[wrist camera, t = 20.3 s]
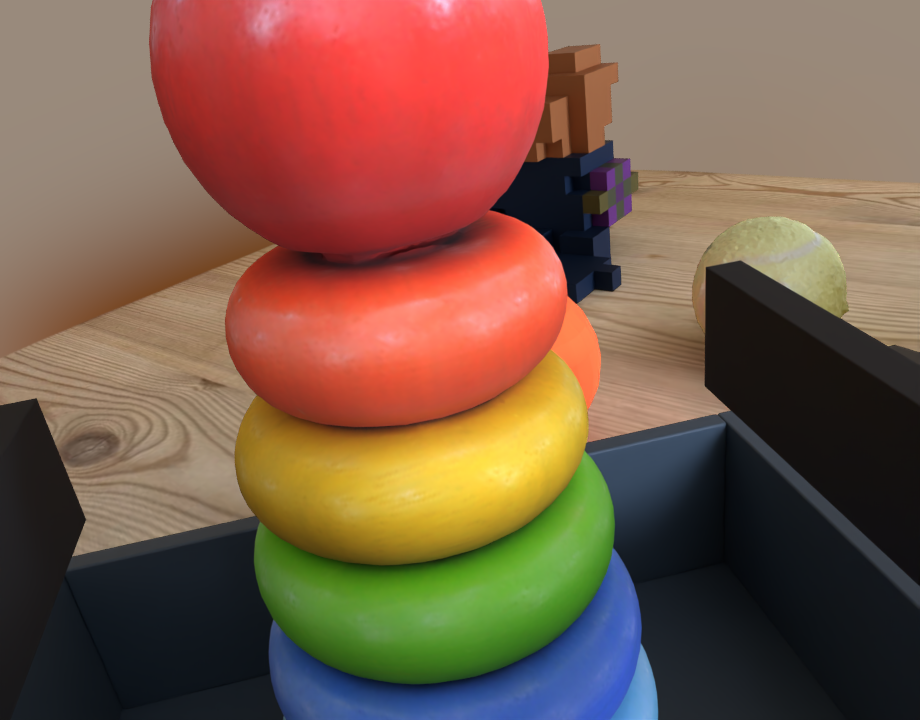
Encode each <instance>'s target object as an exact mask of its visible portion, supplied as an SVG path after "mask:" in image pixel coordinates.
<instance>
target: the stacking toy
mask: <svg viewBox="0 0 920 720" xmlns="http://www.w3.org/2000/svg"><path fill="white" fill-rule="evenodd" d="M149 46H150V59H151V74H152V80H153V84H154V88H155V92H156V96H157V100H158V104H159V106H160V109H161V112H162V116H163V120H164V123H165V125H166V126H167V128H168V130H169V133H170V135H171V138H172V140H173V142H174V144H175V146H176V148H177V149H178V151H179V153H180V155H181V157H182V159H183V161H184V163H185V164H186V165H187V167H188V168H189V169H190V170H191V172H192V173H193V174H194V176H195V177H196V178H197V180H198V181H199V182H200V184H201V185H202V186H203V187H204V189H205V190H206V191H207V192H208V193H209V195H210V196H211V197H212V198H213V199H214V200H215V201H216V202H217V203H218V204H219V205H220V206H221V207H223V209H225V210H226V211H227V212H228V213H229V214H230V215H231V216H233V217H234V218H235V219H237V220H238V221H240V222H241V223H242V224H244V225H245V226H246V227H248V228H249V229H251V230H252V231H254V232H256V233H257V234H259V235H260V236H262V237H263V238H265V239H267V240H269V241H271V242H273V243H274V244H276V245H279V246H277V247H275V248H274V249H272V250H271V251H269V252H267V253H266V254H264V255H263V256H262V257H260V258H259V259H258V260H257V261H256V262H254V263H253V264H252V265H251V266H250V267H249V268H248V269H247V270H246V271H245V273H244V274H243V275H242V276H241V278H240V279H239V280H238V282H237V283H236V285H235V287H234V289H233V292H232V294H231V296H230V298H229V302H228V306H227V310H226V317H225V330H226V340H227V344H228V349H229V353H230V356H231V358H232V360H233V363H234V365H235V367H236V369H237V371H238V372H239V373H240V375H241V376H242V378H243V379H244V381H245V382H246V383H247V385H248V386H249V387H250V388H251V389H252V390H253V391H254V392H255V393H256V394H257V396H256V397H255V399H254V400H253V402H252V403H251V405H250V407H249V408H248V410H247V412H246V414H245V416H244V418H243V420H242V423H241V425H240V429H239V433H238V436H237V440H236V447H235V468H236V475H237V480H238V484H239V487H240V491H241V493H242V495H243V497H244V499H245V501H246V503H247V505H248V507H249V508H250V509H251V511H252V512H253V513H254V514H255V516H256V517H257V518H258V519H259V521H260V523H259V526H258V530H257V534H256V538H255V549H254V566H255V573H256V579H257V583H258V586H259V590H260V593H261V596H262V598H263V600H264V602H265V604H266V606H267V608H268V610H269V612H270V614H271V616H272V618H273V623H272V626H271V632H270V640H269V666H270V675H271V682H272V686H273V689H274V693H275V697H276V699H277V702H278V704H279V707H280V709H281V711H282V713H283V715H284V717H283V720H658V701H657V691H656V685H655V680H654V676H653V673H652V669H651V666H650V663H649V660H648V657H647V655H646V652H645V650H644V648H643V646H642V644H641V630H642V624H641V614H640V608H639V602H638V598H637V594H636V591H635V587H634V584H633V582H632V579H631V577H630V574H629V572H628V570H627V568H626V567H625V565H624V563H623V561H622V560H621V558H620V556H619V555H618V553H617V552H616V551H615V549H614V548H613V544H614V531H615V520H614V508H613V504H612V500H611V496H610V493H609V489H608V486H607V484H606V482H605V480H604V478H603V476H602V474H601V472H600V470H599V469H598V467H597V465H596V464H595V462H594V461H593V460H592V458H591V457H590V456H589V455H588V454H587V453H586V452H585V446H586V442H587V437H588V412H587V405H586V401H585V398H584V394H583V391H582V388H581V386H580V384H579V382H578V380H577V378H576V376H575V375H574V373H573V372H572V370H571V369H570V368H569V366H568V365H567V364H566V362H565V361H564V360H563V359H562V358H560V357H559V356H558V355H557V354H556V353H555V352H554V351H552V350H551V348H552V347H553V345H554V343H555V342H556V340H557V338H558V335H559V333H560V331H561V328H562V325H563V321H564V317H565V313H566V305H567V281H566V277H565V274H564V270H563V267H562V263H561V261H560V259H559V258H558V256H557V254H556V252H555V251H554V249H553V247H552V246H551V244H550V243H549V242H548V241H547V240H546V239H545V238H544V237H543V236H542V235H541V234H540V233H539V232H537V231H536V230H535V229H534V228H532V227H531V226H530V225H528V224H526V223H524V222H522V221H520V220H518V219H516V218H513V217H510V216H507V215H504V214H501V213H498V212H495V211H490V210H489V209H490V208H491V207H492V206H493V205H494V204H495V203H496V201H497V200H498V199H499V198H500V197H501V196H502V195H503V194H504V193H505V192H506V191H507V189H508V188H509V186H510V185H511V183H512V182H513V181H514V179H515V177H516V176H517V174H518V172H519V170H520V169H521V167H522V165H523V163H524V161H525V159H526V156H527V154H528V152H529V150H530V148H531V146H532V144H533V142H534V139H535V136H536V133H537V130H538V126H539V123H540V120H541V116H542V113H543V110H544V103H545V95H546V87H547V78H548V69H549V60H548V36H547V29H546V22H545V16H544V12H543V8H542V4H541V0H153V1H152V5H151V17H150V37H149Z"/></svg>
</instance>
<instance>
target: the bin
mask: <svg viewBox="0 0 920 720" xmlns="http://www.w3.org/2000/svg"><path fill="white" fill-rule="evenodd" d="M585 452H586V453H587V454H588V455H589V456H590V457H591V458H592V460H593V461H594V462H595V464H596V465H597V467H598V469H599V470H600V472H601V474H602V476H603V478H604V480H605V482H606V484H607V486H608V489H609V493H610V496H611V500H612V504H613V508H614V520H615V531H614V544H613V548H614V549H615V551H616V552H617V553H618V555H619V556H620V558H621V560H622V561H623V563H624V565H625V567H626V568H627V570H628V572H629V574H630V577H631V579H632V582H633V584H634V587H635V591H636V594H637V598H638V602H639V608H640V614H641V624H642V630H641V644H642V646H643V648H644V650H645V652H646V655H647V657H648V660H649V663H650V666H651V669H652V673H653V676H654V680H655V685H656V691H657V701H658V720H920V586H919V585H918V584H917V583H915V582H914V581H913V580H912V579H911V578H910V577H909V576H908V575H907V574H906V573H905V572H904V571H903V570H902V569H900V568H899V567H898V566H897V565H896V564H895V563H894V562H893V561H892V560H891V559H890V558H889V557H888V556H887V555H885V554H884V553H883V552H882V551H881V550H880V549H879V548H878V547H877V546H876V545H875V544H874V543H873V542H871V541H870V540H869V539H868V538H867V537H866V536H865V535H864V534H863V533H862V532H861V531H860V530H859V529H858V528H856V527H855V526H854V525H853V524H852V523H851V522H850V521H849V520H848V519H847V518H846V517H845V516H844V515H843V514H841V513H840V512H839V511H838V510H837V509H836V508H835V507H834V506H833V505H832V504H831V503H830V502H829V501H828V500H826V499H825V498H824V497H823V496H822V495H821V494H820V493H819V492H818V491H817V490H816V489H815V488H814V487H812V486H811V485H810V484H809V483H808V482H807V481H806V480H805V479H804V478H803V477H802V476H801V475H800V474H799V473H797V472H796V471H795V470H794V469H793V468H792V467H791V466H790V465H789V464H788V463H787V462H786V461H785V460H784V459H782V458H781V457H780V456H779V455H778V454H777V453H776V452H775V451H774V450H773V449H772V448H771V447H770V446H769V445H767V444H766V443H765V442H764V441H763V440H762V439H761V438H760V437H759V436H758V435H757V434H756V433H755V432H754V431H752V430H751V429H750V428H749V427H748V426H747V425H746V424H745V423H744V422H743V421H742V420H741V419H740V418H738V417H737V416H736V415H735V414H734V413H733V412H732V411H727V412H723V413H719V414H718V415H716V414H714V415H710V416H705V417H701V418H696V419H692V420H687V421H683V422H678V423H674V424H669V425H665V426H660V427H656V428H651V429H647V430H642V431H638V432H633V433H629V434H624V435H620V436H615V437H611V438H606V439H602V440H597V441H593V442H588V443H586V446H585ZM259 523H260V521H259V519H258V518H257V517H256V516H254V517H249V518H245V519H240V520H236V521H231V522H227V523H222V524H218V525H213V526H209V527H204V528H200V529H195V530H191V531H186V532H182V533H177V534H173V535H168V536H164V537H159V538H154V539H150V540H145V541H141V542H136V543H132V544H127V545H123V546H118V547H114V548H109V549H105V550H100V551H96V552H91V553H87V554H82V555H78V556H73V557H72V558H71V561H70V563H69V566H68V569H67V571H66V574H65V576H64V579H63V582H62V584H61V587H60V590H59V592H58V595H57V598H56V600H55V603H54V606H53V608H52V611H51V614H50V616H49V619H48V622H47V624H46V627H45V630H44V632H43V635H42V638H41V640H40V643H39V646H38V648H37V651H36V654H35V656H34V659H33V661H32V664H31V667H30V669H29V672H28V675H27V677H26V680H25V683H24V685H23V688H22V691H21V693H20V696H19V699H18V701H17V704H16V707H15V709H14V712H13V715H12V717H11V720H283V717H284V715H283V713H282V711H281V709H280V707H279V704H278V702H277V699H276V697H275V693H274V689H273V686H272V682H271V675H270V666H269V640H270V632H271V626H272V623H273V618H272V616H271V614H270V612H269V610H268V608H267V606H266V604H265V602H264V600H263V598H262V596H261V593H260V590H259V586H258V583H257V579H256V573H255V566H254V549H255V538H256V534H257V530H258V526H259Z"/></svg>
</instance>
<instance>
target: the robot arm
mask: <svg viewBox="0 0 920 720" xmlns="http://www.w3.org/2000/svg"><path fill="white" fill-rule="evenodd" d="M705 387H706V388H707V389H708V390H710V391H711V392H712V393H713V394H714V395H715V396H716V397H717V398H718V399H719V400H720V401H721V402H722V403H723V404H725V405H726V406H727V407H728V408H729V409H730V410H731V411H732V412H733V413H734V414H735V415H736V416H737V417H738V418H740V419H741V420H742V421H743V422H744V423H745V424H746V425H747V426H748V427H749V428H750V429H751V430H752V431H754V432H755V433H756V434H757V435H758V436H759V437H760V438H761V439H762V440H763V441H764V442H765V443H766V444H767V445H769V446H770V447H771V448H772V449H773V450H774V451H775V452H776V453H777V454H778V455H779V456H780V457H781V458H782V459H784V460H785V461H786V462H787V463H788V464H789V465H790V466H791V467H792V468H793V469H794V470H795V471H796V472H797V473H799V474H800V475H801V476H802V477H803V478H804V479H805V480H806V481H807V482H808V483H809V484H810V485H811V486H812V487H814V488H815V489H816V490H817V491H818V492H819V493H820V494H821V495H822V496H823V497H824V498H825V499H826V500H828V501H829V502H830V503H831V504H832V505H833V506H834V507H835V508H836V509H837V510H838V511H839V512H840V513H841V514H843V515H844V516H845V517H846V518H847V519H848V520H849V521H850V522H851V523H852V524H853V525H854V526H855V527H856V528H858V529H859V530H860V531H861V532H862V533H863V534H864V535H865V536H866V537H867V538H868V539H869V540H870V541H871V542H873V543H874V544H875V545H876V546H877V547H878V548H879V549H880V550H881V551H882V552H883V553H884V554H885V555H887V556H888V557H889V558H890V559H891V560H892V561H893V562H894V563H895V564H896V565H897V566H898V567H899V568H900V569H902V570H903V571H904V572H905V573H906V574H907V575H908V576H909V577H910V578H911V579H912V580H913V581H914V582H915V583H917V584H918V585H919V586H920V352H916V351H913V350H910V349H906V348H903V347H900V346H896V345H892V346H887V345H885V344H883V343H881V342H880V341H878V340H876V339H875V338H873V337H871V336H869V335H868V334H866V333H864V332H863V331H861V330H859V329H857V328H856V327H854V326H852V325H851V324H849V323H847V322H845V321H844V320H842V319H840V318H839V317H837V316H835V315H833V314H832V313H830V312H828V311H827V310H825V309H823V308H821V307H820V306H818V305H816V304H815V303H813V302H811V301H809V300H808V299H806V298H804V297H803V296H801V295H799V294H797V293H796V292H794V291H792V290H791V289H789V288H787V287H785V286H784V285H782V284H780V283H779V282H777V281H775V280H774V279H772V278H770V277H768V276H767V275H765V274H763V273H762V272H760V271H758V270H756V269H755V268H753V267H751V266H750V265H748V264H746V263H744V262H743V261H741V260H739V261H734V262H729V263H724V264H719V265H714V266H709V267H706V278H705ZM85 521H86V518H85V516H84V513H83V511H82V508H81V506H80V504H79V501H78V499H77V496H76V494H75V491H74V489H73V486H72V484H71V482H70V479H69V477H68V474H67V472H66V469H65V467H64V464H63V462H62V460H61V457H60V455H59V452H58V450H57V447H56V445H55V442H54V440H53V437H52V435H51V433H50V430H49V428H48V425H47V423H46V420H45V418H44V415H43V413H42V411H41V408H40V406H39V403H38V401H37V398H36V399H31V400H26V401H21V402H16V403H10V404H5V405H0V720H11V717H12V715H13V712H14V709H15V707H16V704H17V701H18V699H19V696H20V693H21V691H22V688H23V685H24V683H25V680H26V677H27V675H28V672H29V669H30V667H31V664H32V661H33V659H34V656H35V654H36V651H37V648H38V646H39V643H40V640H41V638H42V635H43V632H44V630H45V627H46V624H47V622H48V619H49V616H50V614H51V611H52V608H53V606H54V603H55V600H56V598H57V595H58V592H59V590H60V587H61V584H62V582H63V579H64V576H65V574H66V571H67V569H68V566H69V563H70V561H71V558H72V555H73V553H74V550H75V547H76V545H77V542H78V539H79V537H80V534H81V531H82V529H83V526H84V523H85Z"/></svg>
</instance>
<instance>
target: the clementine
mask: <svg viewBox="0 0 920 720" xmlns="http://www.w3.org/2000/svg"><path fill="white" fill-rule="evenodd" d="M551 350H552V351H554V352H555V353H556V354H557V355H558V356H559V357H560V358H562V359H563V360H564V361H565V362H566V364H567V365H568V366H569V368H570V369H571V370H572V372H573V373H574V375H575V376H576V378H577V380H578V382H579V384H580V386H581V388H582V391H583V394H584V398H585V401H586V405H587V410H588V408H589V407H590V405H591V403H592V400H593V398H594V396H595V393H596V391H597V389H598V386H599V375H600V362H601V354H600V350H599V345H598V340H597V336H596V334H595V332H594V330H593V328H592V326H591V325H590V323H589V321H588V319H587V317H586V316H585V314H584V312H583V311H582V309H581V308H580V307H579V306H577V305H576V304H575V303H574V302H573V301H572V300H571V299H570V298H569V297H568V296H567V305H566V313H565V317H564V321H563V325H562V328H561V331H560V333H559V335H558V338H557V340H556V342H555V343H554V345H553V347H552V348H551Z"/></svg>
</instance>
